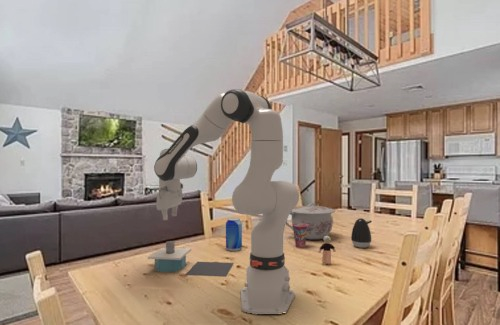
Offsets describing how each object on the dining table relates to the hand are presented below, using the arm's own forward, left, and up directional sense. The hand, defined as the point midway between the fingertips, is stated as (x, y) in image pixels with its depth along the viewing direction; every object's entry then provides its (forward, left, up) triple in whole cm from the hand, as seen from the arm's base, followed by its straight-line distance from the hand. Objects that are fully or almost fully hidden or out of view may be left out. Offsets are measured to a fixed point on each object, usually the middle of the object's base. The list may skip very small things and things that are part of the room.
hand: (170, 217), depth 137 cm
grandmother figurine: (+13, -68, -22) cm, 73 cm away
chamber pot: (+63, -64, -22) cm, 93 cm away
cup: (+41, -57, -22) cm, 74 cm away
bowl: (0, 0, -22) cm, 22 cm away
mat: (0, -18, -22) cm, 28 cm away
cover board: (0, 0, -16) cm, 16 cm away
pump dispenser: (+44, -89, -22) cm, 102 cm away
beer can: (+32, -22, -22) cm, 45 cm away
